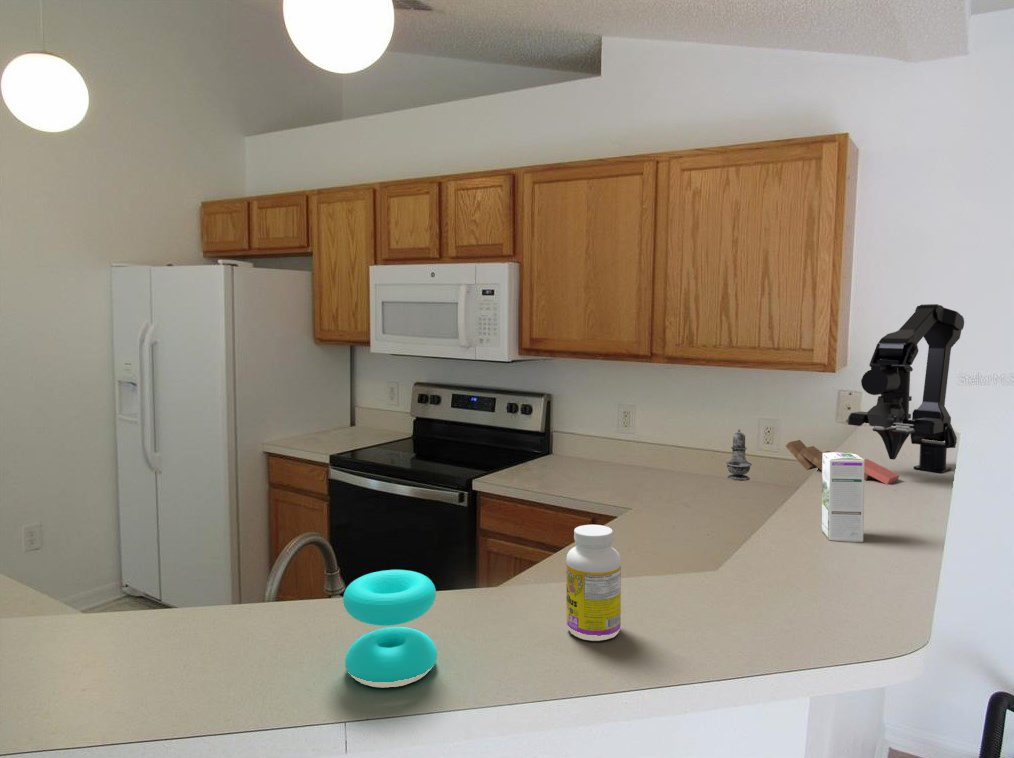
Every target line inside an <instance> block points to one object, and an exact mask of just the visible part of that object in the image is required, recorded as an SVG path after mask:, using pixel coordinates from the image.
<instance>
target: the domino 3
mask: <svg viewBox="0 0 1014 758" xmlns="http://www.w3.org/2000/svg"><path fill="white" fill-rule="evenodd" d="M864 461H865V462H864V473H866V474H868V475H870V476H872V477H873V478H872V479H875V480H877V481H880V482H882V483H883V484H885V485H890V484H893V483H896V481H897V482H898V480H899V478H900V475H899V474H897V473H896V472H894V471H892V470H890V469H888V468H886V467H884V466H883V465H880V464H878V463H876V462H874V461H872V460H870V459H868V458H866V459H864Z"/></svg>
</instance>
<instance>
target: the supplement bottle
mask: <svg viewBox="0 0 1014 758" xmlns="http://www.w3.org/2000/svg"><path fill="white" fill-rule="evenodd" d="M573 533H574V534H573V539H574V542H575V546H573V547H572V548H570V549H569V551H568V552H567V554H566V559H565V560H566V563H565V564H566V568H565V570H566V584H565V585H566V590H565V592H566V595H565V596H566V597H565V598H566V602H565V603H566V604H565V605H566V609H565V610H566V616H565V617H566V626H567V625H568V626H569V627H570V628H571V629H573V630H575V631H577V632H580V633H582V634H586V635H597V636H601V635H610V634H613V633H615V632H617V631H618V630H619V629H620V627H622V626H621V625H622V624H621V620H622V619H621V618H622V617H621V614H622V613H621V612H622V610H621V609H622V604H621V603H622V602H621V601H622V599H621V598H622V597H621V595H622V593H621V592H622V591H621V590H622V582H621V581H622V579H621V578H622V577H621V575H622V557H621V555H620V553H619V552H618V550H616V549H615V548H614V547H612V543H613V541H614V532H613V529H612V528H611V527H609V526H605V525H601V524H584V525H579V526H577V527H575V528H574V530H573ZM620 630H621V629H620Z"/></svg>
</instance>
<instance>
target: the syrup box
mask: <svg viewBox="0 0 1014 758" xmlns="http://www.w3.org/2000/svg"><path fill="white" fill-rule="evenodd" d="M822 453H823V452H822ZM864 460H865V459H864V458H862V457H861V456H859V455H858V454H856V453H855V452H844V451H843V452H842V451H841V452H840V451H836V452H835V451H834V452H831V451H830V453H823V459H822V470H821V526H820V527H821V532H822V533H823V534H824V536H825V537H826V538H827V539H828V540H829V541H832V542H833V541H835V542H848V543H849V542H850V543H852V542H853V543H864V527H865V526H864V525H865V524H864V523H865V521H864V520H865V481H864V462H865V461H864Z"/></svg>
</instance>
